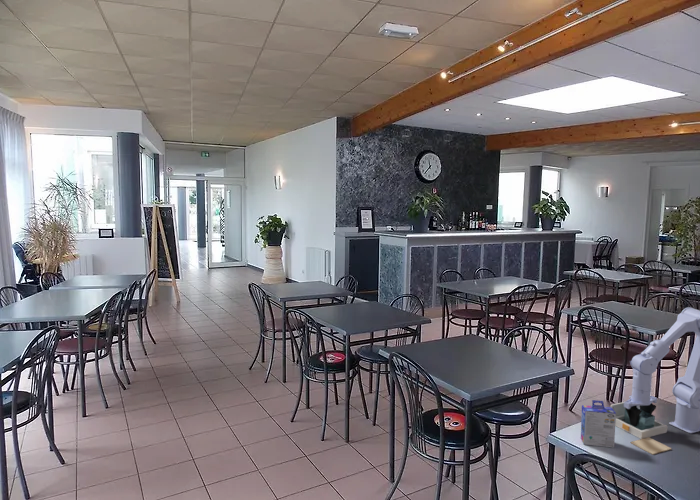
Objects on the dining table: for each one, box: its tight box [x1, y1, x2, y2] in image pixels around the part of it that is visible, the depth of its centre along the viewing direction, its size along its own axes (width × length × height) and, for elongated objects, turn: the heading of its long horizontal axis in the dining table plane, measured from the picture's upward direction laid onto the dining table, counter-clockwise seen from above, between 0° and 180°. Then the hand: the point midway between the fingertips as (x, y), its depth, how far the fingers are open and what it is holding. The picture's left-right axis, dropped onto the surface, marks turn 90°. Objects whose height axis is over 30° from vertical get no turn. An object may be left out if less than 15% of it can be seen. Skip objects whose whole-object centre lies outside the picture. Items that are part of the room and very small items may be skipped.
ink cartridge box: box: [580, 399, 616, 448], centre depth 161 cm, size 10×6×14 cm, turn 78°
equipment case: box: [615, 414, 668, 440], centre depth 172 cm, size 13×12×2 cm
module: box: [624, 409, 656, 430], centre depth 172 cm, size 5×8×6 cm, turn 21°
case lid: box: [609, 401, 625, 416], centre depth 177 cm, size 13×2×7 cm, turn 111°
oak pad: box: [630, 437, 673, 455], centre depth 159 cm, size 9×8×1 cm
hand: (638, 423), depth 172 cm, fingers closed on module, 5 cm apart
